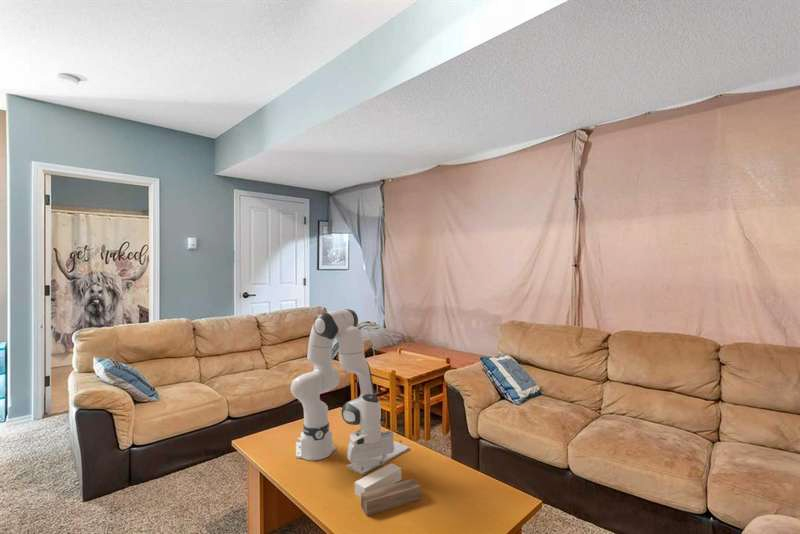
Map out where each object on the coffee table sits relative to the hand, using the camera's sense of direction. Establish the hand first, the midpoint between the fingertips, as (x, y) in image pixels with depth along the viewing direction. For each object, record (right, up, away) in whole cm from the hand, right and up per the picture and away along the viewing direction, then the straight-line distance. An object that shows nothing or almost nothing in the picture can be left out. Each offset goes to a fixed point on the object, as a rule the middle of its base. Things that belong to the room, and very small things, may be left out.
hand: (371, 467), depth 164 cm
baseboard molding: (+2, -4, +16) cm, 17 cm away
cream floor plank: (+3, -4, -8) cm, 9 cm away
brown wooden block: (+9, -4, -18) cm, 21 cm away
